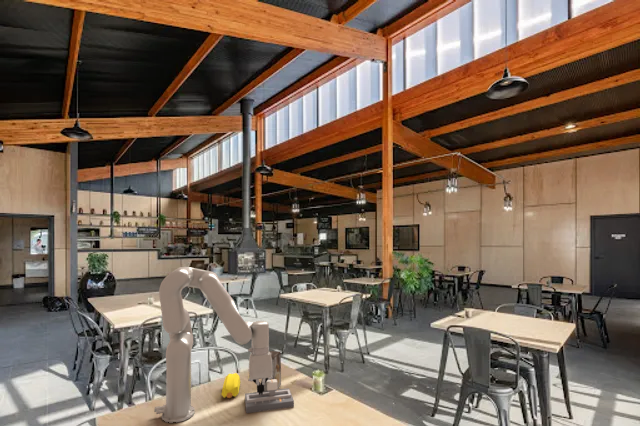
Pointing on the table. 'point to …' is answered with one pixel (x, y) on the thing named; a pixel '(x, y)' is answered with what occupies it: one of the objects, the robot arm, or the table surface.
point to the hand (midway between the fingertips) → (260, 393)
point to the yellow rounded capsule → (231, 385)
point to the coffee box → (275, 368)
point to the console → (268, 400)
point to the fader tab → (272, 386)
